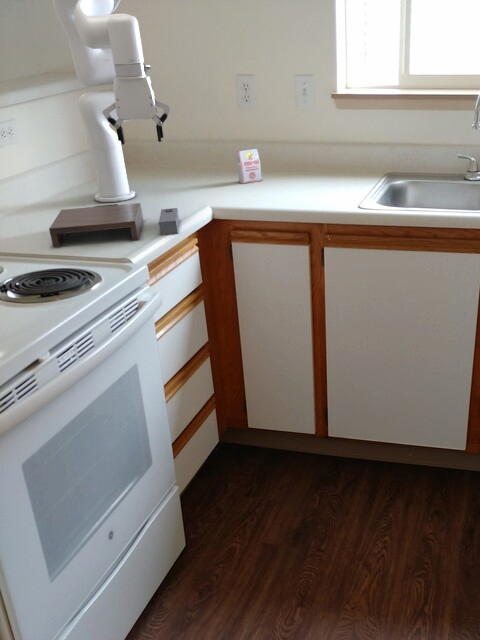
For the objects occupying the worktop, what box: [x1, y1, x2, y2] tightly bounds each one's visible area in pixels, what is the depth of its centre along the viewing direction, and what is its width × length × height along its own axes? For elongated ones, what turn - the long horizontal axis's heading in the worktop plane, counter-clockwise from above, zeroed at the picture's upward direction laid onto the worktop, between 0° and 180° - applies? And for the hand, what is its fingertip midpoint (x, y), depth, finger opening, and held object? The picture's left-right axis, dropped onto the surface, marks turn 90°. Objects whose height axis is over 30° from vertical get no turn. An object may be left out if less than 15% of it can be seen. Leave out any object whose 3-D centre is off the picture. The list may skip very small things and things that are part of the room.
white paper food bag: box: [236, 148, 262, 185], centre depth 252 cm, size 4×7×10 cm, turn 116°
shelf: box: [48, 202, 144, 248], centre depth 207 cm, size 20×22×5 cm
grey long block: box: [158, 207, 180, 236], centre depth 209 cm, size 14×4×4 cm, turn 8°
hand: (141, 142), depth 201 cm, fingers open, 9 cm apart
